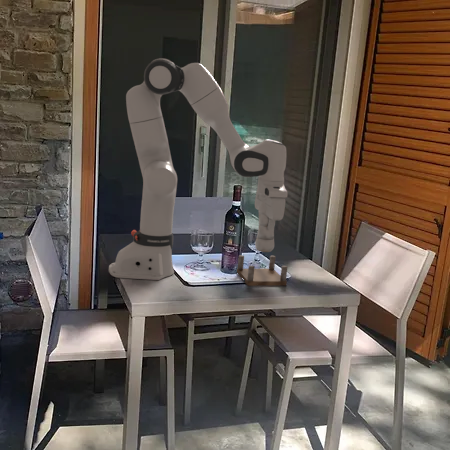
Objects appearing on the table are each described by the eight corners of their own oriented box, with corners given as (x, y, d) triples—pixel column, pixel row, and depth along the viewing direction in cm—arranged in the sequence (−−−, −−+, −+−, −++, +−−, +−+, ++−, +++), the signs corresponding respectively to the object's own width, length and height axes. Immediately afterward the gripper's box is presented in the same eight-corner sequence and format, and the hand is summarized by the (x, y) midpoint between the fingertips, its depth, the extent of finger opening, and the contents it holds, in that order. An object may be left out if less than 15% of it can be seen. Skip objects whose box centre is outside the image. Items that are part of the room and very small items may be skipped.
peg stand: (247, 285, 195) (249, 267, 193) (236, 272, 208) (238, 255, 206) (286, 285, 199) (288, 267, 197) (272, 272, 212) (274, 255, 210)
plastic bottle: (272, 255, 197) (278, 198, 193) (252, 252, 198) (258, 195, 194) (274, 250, 203) (280, 195, 199) (255, 247, 205) (261, 192, 200)
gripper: (252, 182, 205) (248, 219, 208) (271, 193, 186) (267, 234, 189) (269, 182, 206) (265, 220, 210) (289, 193, 187) (285, 234, 190)
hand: (266, 227), depth 199 cm, fingers closed on plastic bottle, 6 cm apart
